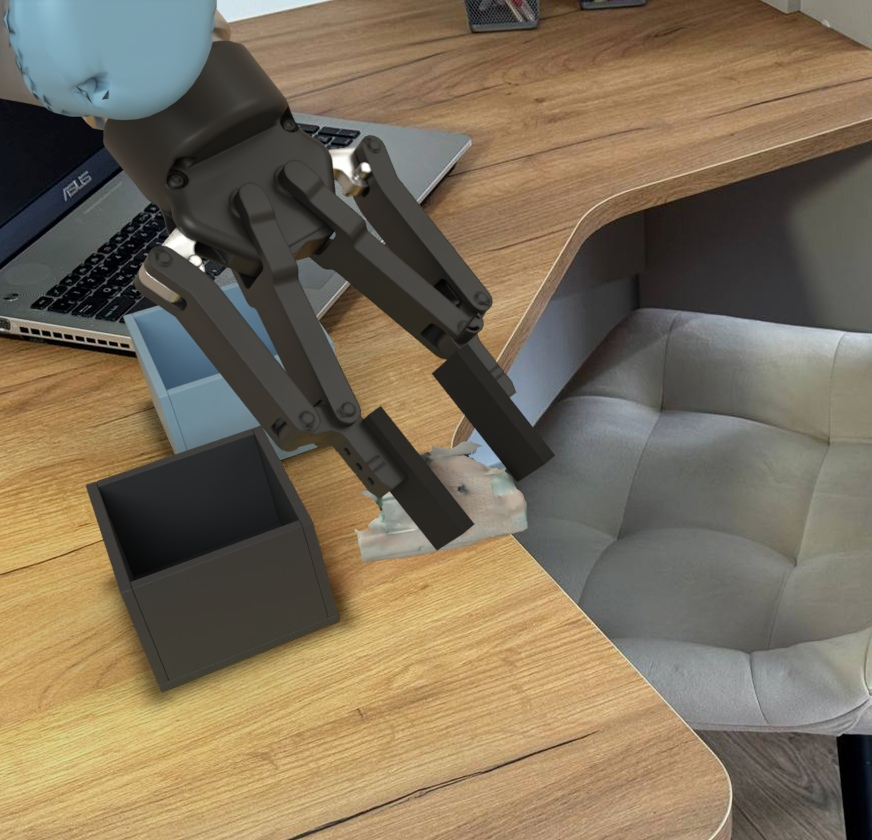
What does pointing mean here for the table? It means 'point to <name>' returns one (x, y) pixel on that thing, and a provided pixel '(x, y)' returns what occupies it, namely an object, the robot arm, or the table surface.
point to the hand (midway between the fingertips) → (496, 501)
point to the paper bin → (194, 378)
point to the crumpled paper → (473, 490)
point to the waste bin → (213, 556)
